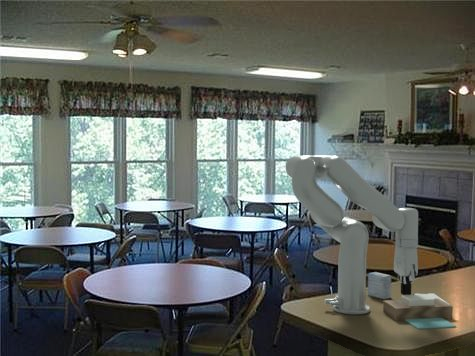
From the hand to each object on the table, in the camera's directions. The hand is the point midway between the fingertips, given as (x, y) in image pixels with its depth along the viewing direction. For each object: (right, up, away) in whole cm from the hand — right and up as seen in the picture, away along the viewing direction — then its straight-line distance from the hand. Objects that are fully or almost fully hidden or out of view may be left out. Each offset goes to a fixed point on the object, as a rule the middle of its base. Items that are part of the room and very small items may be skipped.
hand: (405, 294), depth 201 cm
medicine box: (-6, -4, +16) cm, 17 cm away
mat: (+2, -6, -18) cm, 19 cm away
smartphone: (+12, -5, +8) cm, 15 cm away
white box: (+1, -1, -9) cm, 9 cm away
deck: (+1, -5, -9) cm, 10 cm away
